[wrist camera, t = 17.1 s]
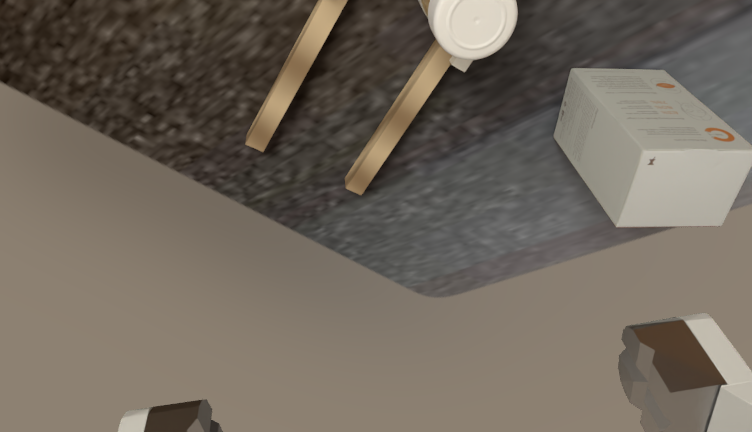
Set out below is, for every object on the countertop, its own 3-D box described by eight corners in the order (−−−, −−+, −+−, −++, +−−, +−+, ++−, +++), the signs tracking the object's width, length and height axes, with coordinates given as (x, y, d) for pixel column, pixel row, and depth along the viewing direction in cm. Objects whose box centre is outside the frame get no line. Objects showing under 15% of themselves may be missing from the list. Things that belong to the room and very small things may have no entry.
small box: (551, 137, 53) (613, 229, 42) (569, 66, 49) (642, 148, 39) (641, 137, 54) (723, 228, 43) (666, 68, 50) (762, 149, 40)
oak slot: (359, 184, 54) (361, 195, 52) (246, 134, 50) (245, 144, 48) (452, 47, 47) (456, 55, 46) (330, -23, 43) (331, -17, 42)
